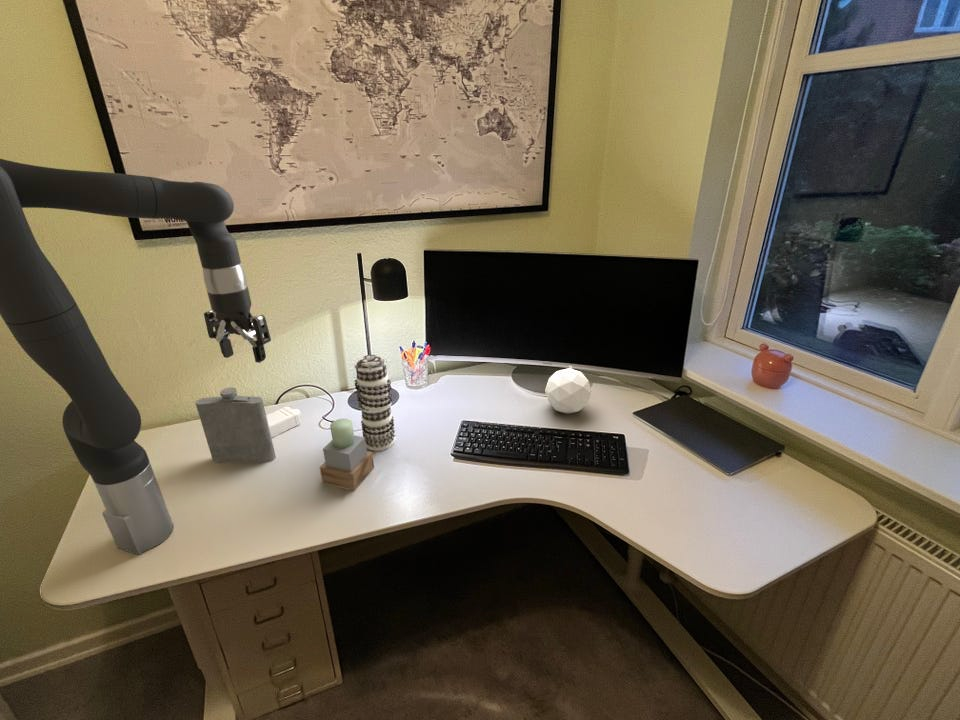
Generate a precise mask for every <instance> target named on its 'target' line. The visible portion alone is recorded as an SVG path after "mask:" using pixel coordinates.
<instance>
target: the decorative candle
mask: <svg viewBox="0 0 960 720" xmlns="http://www.w3.org/2000/svg"><path fill="white" fill-rule="evenodd" d="M387 365H388V362H387V360H386V359H384V358H383V357H381V356H380V355H378V354H367V355H364V356H362V357H360V358H359V359H358V361H357V362H356V363H355V364H354V369H355V371H356V377H355V378H356V379H354V382H355V383H354V389H355V390H356V391H355V393H356V398H357V402H358V407H359V410H360V411H361V420H360V421H361V422H360V423H361V428H362V429H361V431H362V437H364V438H365V443H366V450H369V451H373V452H374V451H375V452H376V451H377V452H378V451H379V452H380V451H385V450H387V449H389V448H391V447H392V446H393V445H395V443H396V434H395V433H396V432H395V431H396V430H395V427H394V426H395V423H394V421H395V420H394V416H393V414H392V413H393V412H392V410H391V406H392V403H393V399H392V396H393V395H392V393H391V390H392V386H391V384H392V382H391V379H389V375H388V371H387Z"/></svg>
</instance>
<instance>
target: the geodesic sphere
mask: <svg viewBox="0 0 960 720" xmlns="http://www.w3.org/2000/svg"><path fill="white" fill-rule="evenodd" d="M544 393H545V395H546V398H547V401H548V403H549V404H550V406H551V407H552V408H553V409H554V410H555V411H556V412H559V413H563V414H567V415H568V414H573V413H576V412H579V411H581V410H583V409H584V408H585V407H586V406H587V405H588V404H589V402H590V401H589V400H590V398H591V394H592V389H591V385H590V381H589V379H587V377H586V376H585V375H584V373H583V372H582V371H579V370H576V369H575V368H573V366H572V365H568V368H565V369H560V370H557V371H555V372H554V373H553V374H552V375H551V376H549V378H548V381H547V383H546V386H545V390H544Z"/></svg>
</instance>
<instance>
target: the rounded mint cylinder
mask: <svg viewBox="0 0 960 720" xmlns="http://www.w3.org/2000/svg"><path fill="white" fill-rule="evenodd" d="M329 427H330V428H329V429H330V433H331V440H332V441H333V445H334V446H335V447H336V448H347V447H350V446H351V445H353V444H354V442H355V439H354V436H355V433H354V426H353V422H352V420H351V419H349V418H339V419H336V420H334V421H332V422H331V423H330V426H329Z"/></svg>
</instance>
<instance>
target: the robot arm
mask: <svg viewBox="0 0 960 720" xmlns="http://www.w3.org/2000/svg"><path fill="white" fill-rule="evenodd" d="M25 208H26V209H28V208H30V209H32V208H34V209H35V208H36V209H54V210H55V209H57V210H67V211H73V212H83V213H88V214H96V215H102V216H112V217H121V218H134V219H149V220H150V219H151V220H152V219H153V220H154V219H155V220H157V219H158V220H161V219H162V220H163V219H168V220H169V219H170V220H173V219H174V220H181V221H186V224H187V226H188V228H189V231H190V233H191V235H192V237H193V239H194V241H195V244H196V247H197V253H198V256H199V260H200V264H201V268H202V274H203V275H202V277H203V281H204V284H205V289H206V293H207V296H208V302H209V304H210V310H208V311H206V312H204V313H203V317H204V321H205V325H206V326H205V327H206V331H207V335H208V338H210V339H211V340H213V339H214V340H216V342H217V343H218V344H219V347H220V351H221V354H222V357H223V358H227V359H228V358H230V357H232V356H233V355H234V350H233V349H234V348H233V345H232V340H231V339H230V338H229V337H230V335H233V334H234V335H237V336H241V338H243V340H246V341H248V343H249V344H250V345H251V346H252V348H251V349H252V353H253V356H254V361H255V363H257V364H261V362H264V361H265V359H266V358H267V354H266V351H265V349H266V348H265V344H268V343H270V342H271V341H272V338H271V335H270V334H271V333H270V330H269V327H268V324H267V319H266V316H265V315H264V314H260V315H258V316H254V315H253V314H252V312H251V307H252V299H251V295H250V291H249V286H248V283H247V276H246V273H245V270H244V268H243V265H242V260H241V257H240V252H239V248H238V244H237V242H236V239H235V237H234V236H233V235H232V233H230V232H229V231H228V229H227V226H226V223H225V221H227V220H228V219H229V218H230V217H231V215H232V214H233V212H234V209H235V204H234V200H233V198H232V196H231V194H230V192H228V191H227V190H226V189H225V188H223V187H221V186H220V185H218V184H214V183H209V182H204V181H193V182H191V181H189V182H188V181H175V180H168V179H163V178H158V177H155V176H154V177H153V176H146V175H137V174H136V175H135V174H128V173H118V172H117V173H116V172H102V171H91V170H90V171H89V170H78V169H77V170H76V169H64V168H55V167H48V166H41V165H33V164H28V163H23V162H17V161H12V160H7V159H4V158H0V318H2V321H3V322H4V323H5V325H6V326H7V328H8V330H9V331H10V332H11V334H12V336H13V338H14V339H15V341H16V342H17V344H19V346H20V347H21V349H22V350H23V351H24V352H25V354H27V356H29V358H30V359H31V360H32V361H33V362H35V364H36V365H38V367H40V368H41V369H42V371H44V372H45V373H46V374H47V375H48V376H50V377H51V379H53V380H54V381H55V382H56V383H57V384H58V385H59V386H60V387H61V388H62V390H64V391H65V392H66V393H67V395H68V397H69V398H70V400H71V401H70V403H68V404H67V405H66V407H65V408H64V411H63V414H62V428H63V431H64V435H65V436H66V439H67V441H68V443H69V445H70V446H71V449H72V451H73V453H74V455H75V456H76V458H77V460H78V462H79V463H80V465H81V467H82V468H83V469H84V470H85V471H86V472H87V473H88V474H89V476H90V478H91V479H92V482H93V483H94V485H95V488H96V490H97V492H98V495H99V497H100V499H101V502H102V505H103V506H104V508H105V510H103V511H102V513H101V515H102V516H103V519H104V521H105V523H106V525H107V527H108V529H109V532H110V534H111V537H112V539H113V541H114V544H115V545H116V547H117V548H118V549H120V550H123V551H125V552H126V551H127V552H129V553H132V554H135V555H142V553H143V552H146V551H147V550H150V549H153V548H154V547H156V546H158V545H160V544H162V543H163V542H165V540H166V539H168V538H169V537H170V536H171V535H172V533H173V530H174V523H173V520H172V517H171V515H170V512H169V509H168V507H167V504H166V502H165V500H164V496H163V494H162V491H161V489H160V486H159V483H158V481H157V478H156V475H155V472H154V470H153V467H152V464H151V462H150V459H149V456H148V453H147V451H146V450H145V448H144V447H142V445H140V444H139V443H138V442H137V441H136V439H137V438H138V436H139V434H140V432H141V429H142V428H141V427H142V416H141V413H140V411H139V409H138V407H137V405H136V404H135V402H134V401H133V400H132V398H131V397H130V396H129V394H128V393H127V392H126V390H125V389H124V388H123V386H122V384H121V383H120V382H119V380H118V379H117V376H115V374H114V372H113V370H111V367H110V366H109V363H108V362H107V360H106V359H107V358H106V357H105V355H104V354H103V352H102V350H101V348H100V346H99V344H98V343H97V340H96V339H95V337H94V335H93V333H92V331H91V329H90V327H89V325H88V322H87V321H86V319H85V317H84V315H83V313H82V312H81V309H80V307H79V305H78V304H77V302H76V300H75V299H74V297H73V295H72V293H71V292H70V291H69V288H68V287H67V285H66V284H65V282H64V281H63V278H61V276H60V275H59V273H58V271H57V270H56V269H55V267H54V266H53V265H52V264H51V262H50V260H49V259H48V258H47V256H46V255H45V253H44V252H43V251H42V249H41V247H40V245H39V244H38V242H37V240H36V238H35V235H34V233H33V231H32V229H31V227H30V224H29V222H28V220H27V217H26V215H25V213H24V210H23V209H25ZM249 331H250V332H249Z"/></svg>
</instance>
